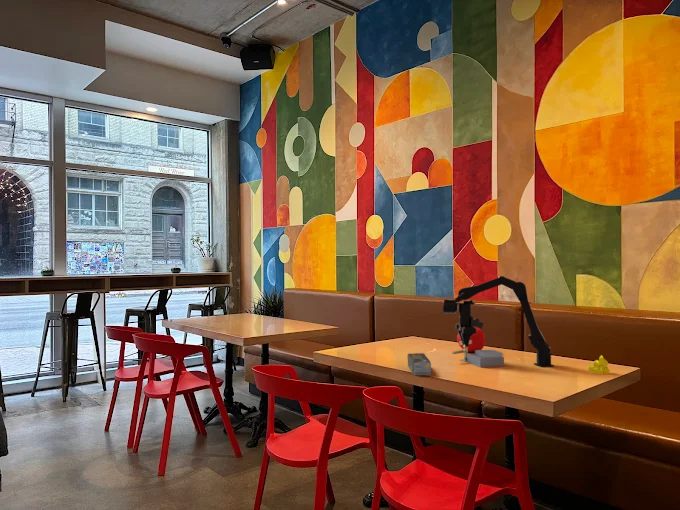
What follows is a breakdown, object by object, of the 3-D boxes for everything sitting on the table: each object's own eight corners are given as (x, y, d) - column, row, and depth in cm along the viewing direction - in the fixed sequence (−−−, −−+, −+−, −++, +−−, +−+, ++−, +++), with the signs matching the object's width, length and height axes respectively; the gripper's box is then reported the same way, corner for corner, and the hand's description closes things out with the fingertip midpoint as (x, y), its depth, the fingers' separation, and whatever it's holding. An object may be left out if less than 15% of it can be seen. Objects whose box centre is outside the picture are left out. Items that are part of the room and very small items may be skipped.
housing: (504, 365, 238) (503, 357, 238) (477, 367, 234) (477, 358, 234) (484, 358, 255) (483, 350, 255) (459, 359, 252) (459, 351, 252)
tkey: (453, 362, 244) (453, 342, 244) (450, 362, 246) (450, 342, 246) (472, 359, 252) (472, 340, 252) (469, 358, 253) (469, 339, 253)
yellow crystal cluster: (590, 370, 228) (590, 352, 228) (610, 372, 223) (610, 354, 223) (587, 372, 223) (587, 354, 223) (607, 375, 218) (607, 356, 218)
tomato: (490, 352, 274) (490, 326, 274) (475, 355, 265) (474, 328, 265) (466, 348, 286) (465, 323, 286) (450, 351, 277) (450, 325, 277)
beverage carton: (412, 375, 219) (412, 360, 219) (407, 366, 239) (407, 352, 239) (431, 375, 219) (431, 360, 219) (424, 366, 239) (424, 352, 239)
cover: (502, 357, 238) (502, 352, 238) (484, 357, 236) (484, 353, 236) (492, 353, 247) (492, 349, 247) (475, 354, 245) (475, 350, 245)
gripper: (487, 315, 241) (487, 349, 241) (476, 311, 260) (477, 342, 260) (463, 315, 241) (463, 349, 241) (454, 311, 260) (455, 342, 260)
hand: (465, 345), depth 251 cm, fingers closed on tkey, 4 cm apart
